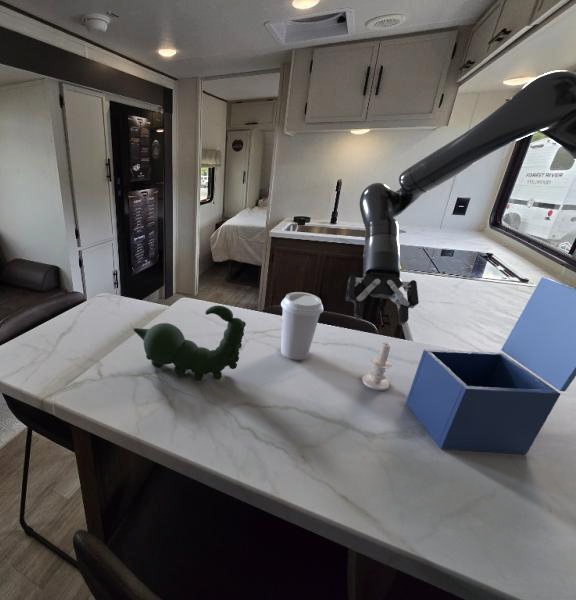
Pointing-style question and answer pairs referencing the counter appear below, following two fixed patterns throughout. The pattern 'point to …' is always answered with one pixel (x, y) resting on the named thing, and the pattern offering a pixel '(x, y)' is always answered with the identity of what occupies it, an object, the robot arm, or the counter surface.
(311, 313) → the coffee cup
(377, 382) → the cream chess piece
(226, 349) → the toy figurine
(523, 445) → the case
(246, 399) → the counter surface
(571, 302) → the lid
